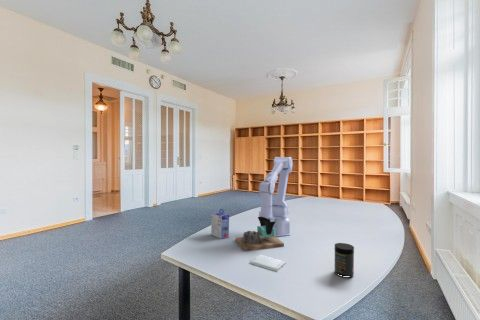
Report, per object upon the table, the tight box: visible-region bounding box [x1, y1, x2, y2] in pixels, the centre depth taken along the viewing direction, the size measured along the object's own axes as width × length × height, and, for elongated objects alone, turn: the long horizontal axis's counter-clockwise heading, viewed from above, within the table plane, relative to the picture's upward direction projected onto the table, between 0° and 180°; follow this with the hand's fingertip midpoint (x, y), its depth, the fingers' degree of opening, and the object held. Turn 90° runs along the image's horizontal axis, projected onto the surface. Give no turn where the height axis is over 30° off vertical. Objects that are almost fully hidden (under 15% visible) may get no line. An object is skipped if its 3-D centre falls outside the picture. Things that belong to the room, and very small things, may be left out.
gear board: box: [235, 230, 285, 252], centre depth 122 cm, size 20×15×6 cm
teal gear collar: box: [256, 225, 275, 238], centre depth 123 cm, size 7×7×4 cm
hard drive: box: [249, 254, 287, 272], centre depth 99 cm, size 2×8×12 cm
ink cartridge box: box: [210, 208, 230, 240], centre depth 133 cm, size 10×6×14 cm, turn 41°
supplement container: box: [333, 242, 355, 277], centre depth 91 cm, size 7×7×10 cm
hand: (266, 232), depth 123 cm, fingers closed on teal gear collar, 6 cm apart
